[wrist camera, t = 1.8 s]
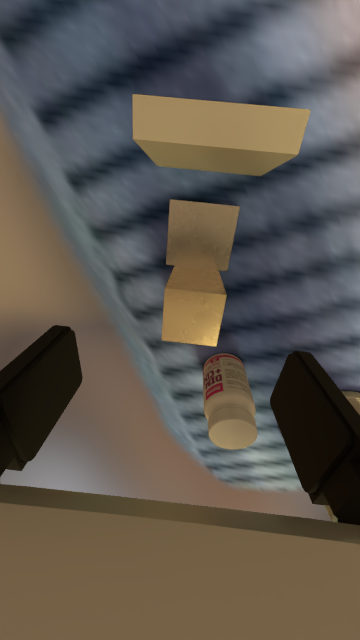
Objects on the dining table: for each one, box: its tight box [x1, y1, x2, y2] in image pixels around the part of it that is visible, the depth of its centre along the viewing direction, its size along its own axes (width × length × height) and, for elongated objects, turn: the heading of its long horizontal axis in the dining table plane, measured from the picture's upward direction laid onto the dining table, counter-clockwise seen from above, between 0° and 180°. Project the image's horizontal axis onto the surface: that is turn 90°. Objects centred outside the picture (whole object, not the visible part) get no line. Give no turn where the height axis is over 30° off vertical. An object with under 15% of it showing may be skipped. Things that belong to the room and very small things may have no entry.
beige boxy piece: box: [162, 199, 240, 347], centre depth 16 cm, size 9×6×7 cm, turn 175°
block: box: [133, 94, 311, 176], centre depth 13 cm, size 2×8×7 cm, turn 85°
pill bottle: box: [203, 353, 257, 449], centre depth 21 cm, size 5×5×8 cm
